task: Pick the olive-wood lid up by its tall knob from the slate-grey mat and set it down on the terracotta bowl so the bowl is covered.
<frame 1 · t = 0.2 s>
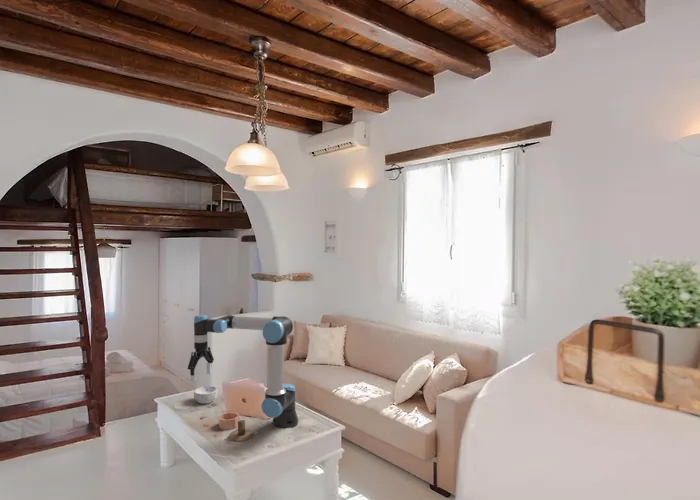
hand: (201, 377, 255), 28 cm above the table, fingers open, 13 cm apart
bowl: (229, 426, 251), on the table
lid: (241, 435, 238), point 1 cm above the table, touching mat
mat: (241, 436, 238), on the table
paper bowls: (206, 401, 290), on the table
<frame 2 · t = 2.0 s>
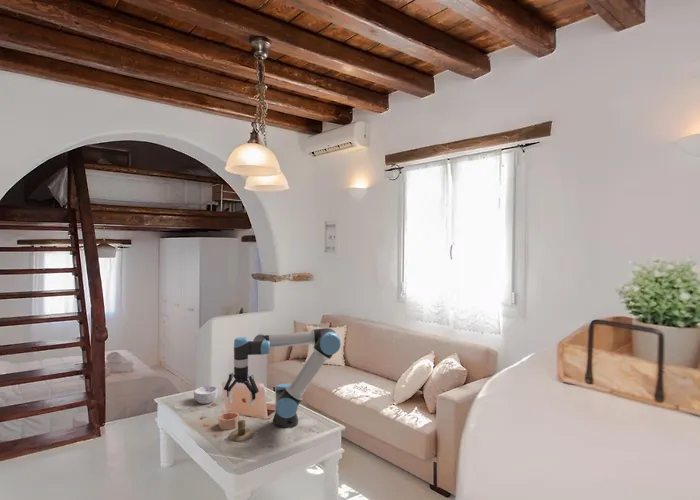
hand: (241, 404, 238), 18 cm above the table, fingers open, 13 cm apart
nothing on the table moved.
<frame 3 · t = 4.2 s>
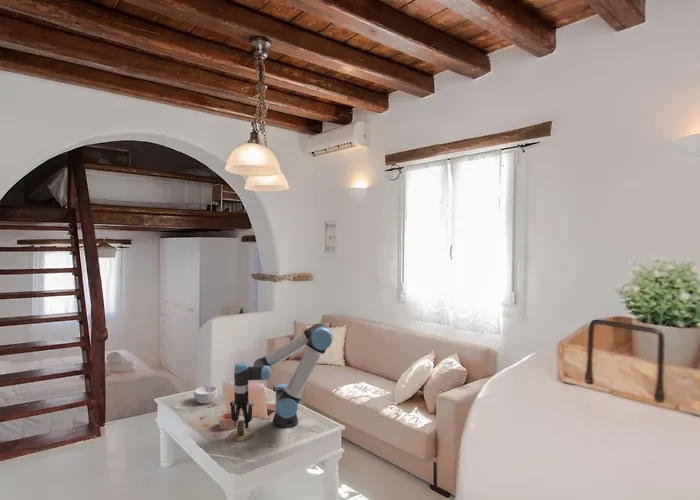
hand: (241, 433, 238), 2 cm above the table, fingers closed on lid, 4 cm apart
lid: (241, 435, 238), point 1 cm above the table, touching gripper, mat
everything else where it was.
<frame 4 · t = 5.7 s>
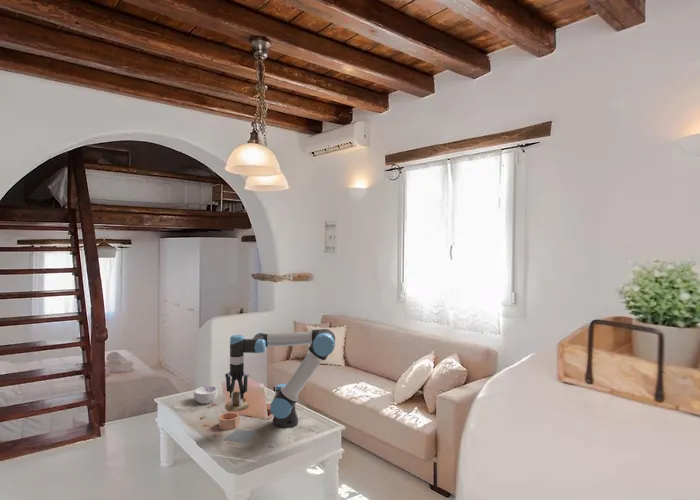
hand: (236, 404, 242), 17 cm above the table, fingers closed on lid, 4 cm apart
lid: (236, 406, 242), point 15 cm above the table, touching gripper
everything else where it was.
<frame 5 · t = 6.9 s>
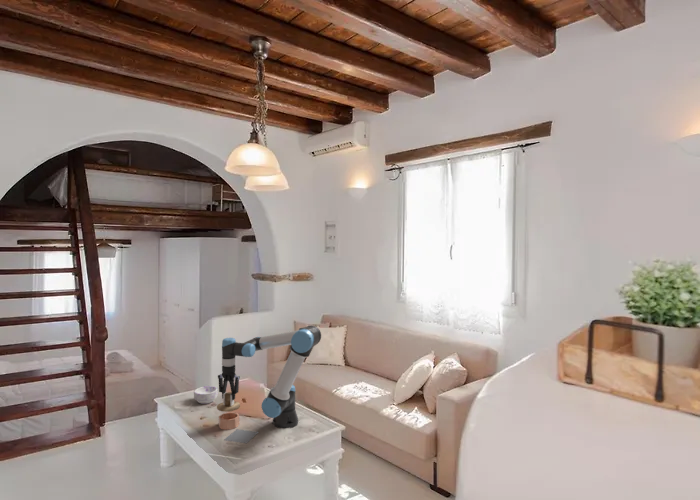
hand: (228, 404, 251), 13 cm above the table, fingers closed on lid, 4 cm apart
lid: (228, 407, 251), point 11 cm above the table, touching gripper
everything else where it was.
when the fingers open (9 cm above the table, at t = 7.6 s): lid drops 2 cm, resting on bowl.
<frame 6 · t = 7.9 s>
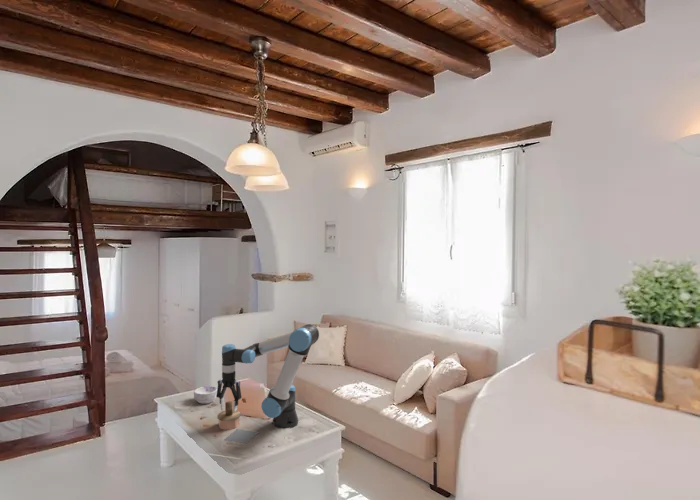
hand: (228, 409, 251), 10 cm above the table, fingers open, 8 cm apart
lid: (229, 416, 251), point 6 cm above the table, touching bowl
everything else where it was.
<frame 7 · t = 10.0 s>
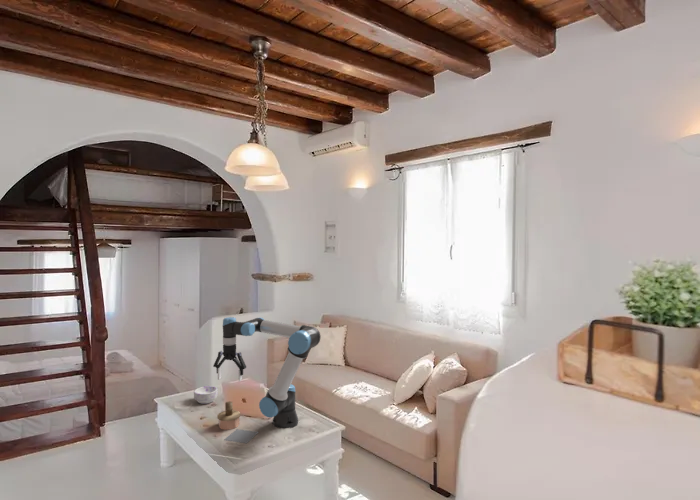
hand: (229, 379, 254), 27 cm above the table, fingers open, 13 cm apart
nothing on the table moved.
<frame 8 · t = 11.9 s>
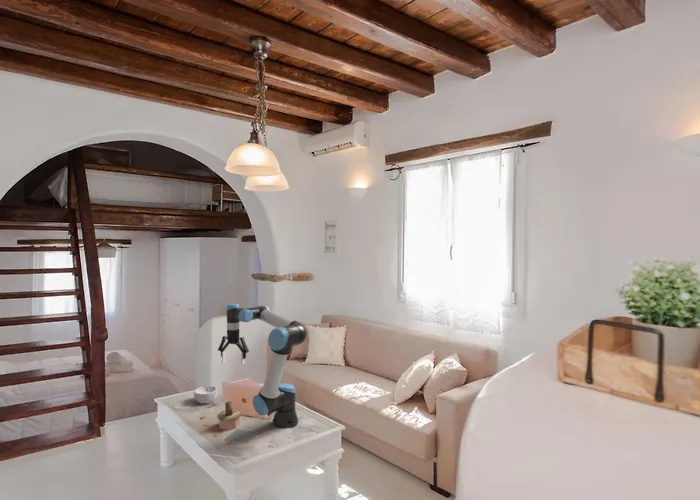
hand: (233, 362, 267), 33 cm above the table, fingers open, 13 cm apart
nothing on the table moved.
at the end: lid 0.1 cm off-centre on the bowl, point 6.0 cm above the bowl's base; lid tilted 0°; the gripper is holding nothing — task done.
